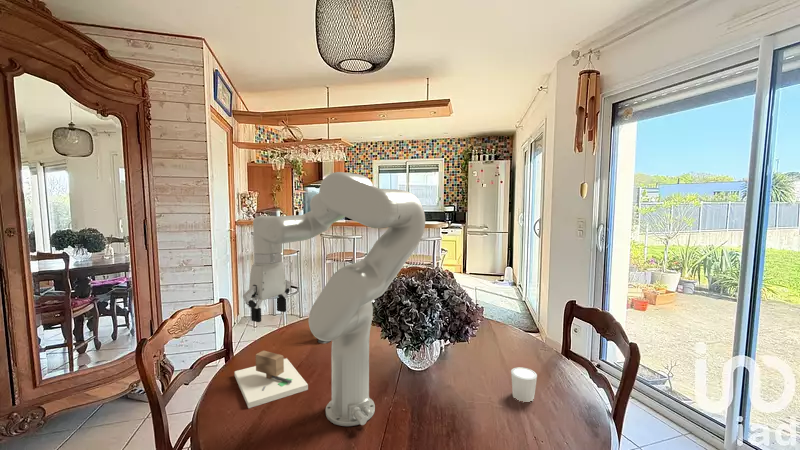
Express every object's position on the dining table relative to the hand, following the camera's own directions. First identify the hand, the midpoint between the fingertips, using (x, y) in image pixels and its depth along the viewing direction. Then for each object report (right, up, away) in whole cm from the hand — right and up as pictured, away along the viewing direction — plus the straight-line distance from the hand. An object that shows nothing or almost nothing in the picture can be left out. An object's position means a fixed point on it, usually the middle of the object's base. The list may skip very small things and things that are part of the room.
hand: (269, 316), depth 102 cm
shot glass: (+73, -22, -5) cm, 76 cm away
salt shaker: (+9, -18, +32) cm, 38 cm away
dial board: (0, -20, +1) cm, 20 cm away
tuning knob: (+1, -18, +1) cm, 19 cm away
